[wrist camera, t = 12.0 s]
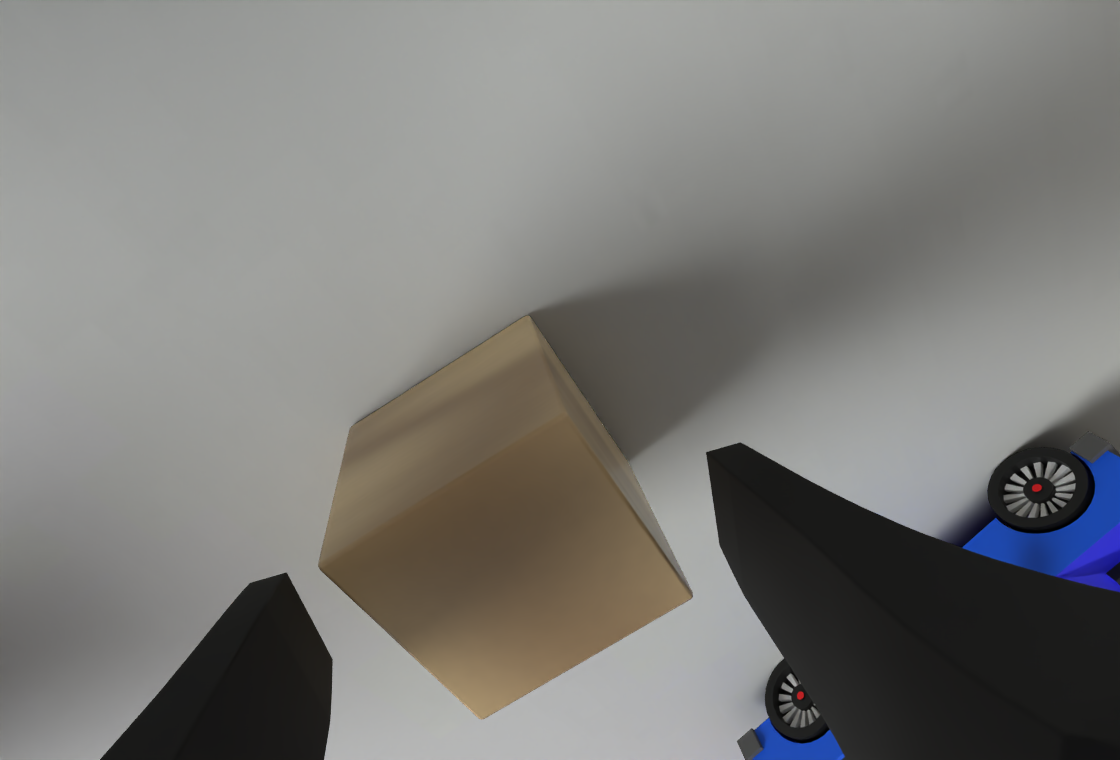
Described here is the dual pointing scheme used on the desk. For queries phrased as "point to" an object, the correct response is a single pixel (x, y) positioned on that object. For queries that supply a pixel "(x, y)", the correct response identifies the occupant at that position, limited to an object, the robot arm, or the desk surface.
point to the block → (497, 525)
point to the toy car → (1035, 543)
